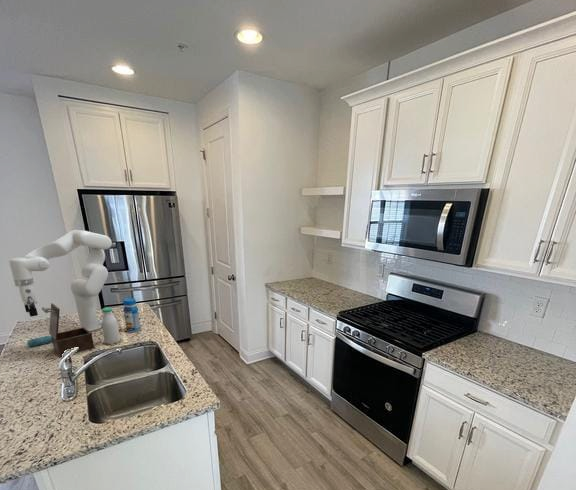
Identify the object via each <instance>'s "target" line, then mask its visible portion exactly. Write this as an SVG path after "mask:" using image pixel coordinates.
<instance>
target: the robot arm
mask: <svg viewBox="0 0 576 490" xmlns="http://www.w3.org/2000/svg"><path fill="white" fill-rule="evenodd" d="M112 245H113V241H112V239H111V238H110V237H109V236H108V235H105V234H101V233H96V232H92V231H89V230H83V229H73V230H70V231H68V232H67V233H65V234H64V235H62V236H60V237H59V238H58V239H55V240H54V241H53V242H50V243H47V244H44V245H42V246H40V247H38V248H35V249H33V250H31V251H30V252H28V253H26V254H25V255H24V256H23V257H13V258H10V259H9V261H8V262H9V266H10V270H11V273H12V279H13V282H14V286H15V287H18V290H19V294H20V297H21V300H22V303H23V304H24V305H23V306H24V309H25V313H29V314H28V315H29V317H36V316H38V315H39V314H38V313H39V312H38V309H37V307H36V305H37V304H38V300H37V296H36V293H35V289H34V287H33V286H34V285H35V282H34V279H33V274H32V273H33V272H44V271H46V270H48V269H49V268H50V261H49V260H50V259H54V258H60V257H64V256H66V255H68V254H70V253H71V252H72V251H74V250H75V249H78V248H79V247H80V246H82V247H83V246H84V247H87V248H88V249H89V250H88V251H89V254H88V257H87V259H86V260H85V262H84V264H83V266H82V268H81V272H80V273H81V275H82V277H84V278H76V279H74V280H73V281H72V282H71V283H70V290H71V292H72V295H73V297H74V301H75V305H76V306H75V307H76V310H77V314H78V315H77V316H78V319H79V324H80V326H79V327H78V328H82V327H84V328H85V329H87V330H88V331H89V332H95V331H97V330H99V329H101V328H102V319H100V320H99V319H98V315H97V308H96V303H95V299H94V297H96V296H98V295H99V294H100V293H101V291H102V289H103V287H104V285H105V284H106V281H107V279H108V277H109V271H108V269H107V267H106V266H104V264H105V263H104V262H105V260H106V253H105V250H109V249H111V247H112ZM85 278H86V279H85Z"/></svg>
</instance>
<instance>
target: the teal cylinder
mask: <svg viewBox="0 0 576 490" xmlns="http://www.w3.org/2000/svg"><path fill="white" fill-rule="evenodd" d="M49 343H52V339H51V335H44V336H40V337H35V338H31V339H28V340H27V345H28V346H29V347H31V348H32V347H33V348H34V347H37V346H41V345H45V344H49Z"/></svg>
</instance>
